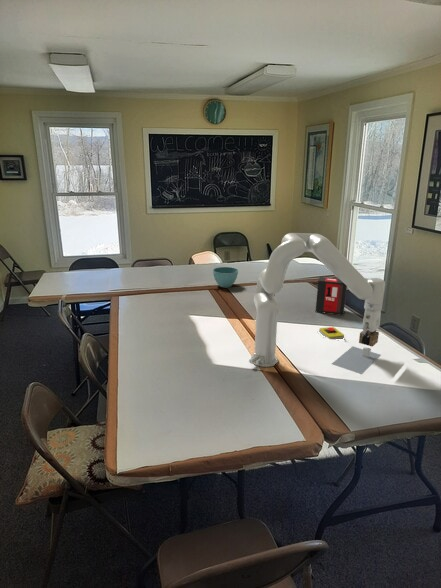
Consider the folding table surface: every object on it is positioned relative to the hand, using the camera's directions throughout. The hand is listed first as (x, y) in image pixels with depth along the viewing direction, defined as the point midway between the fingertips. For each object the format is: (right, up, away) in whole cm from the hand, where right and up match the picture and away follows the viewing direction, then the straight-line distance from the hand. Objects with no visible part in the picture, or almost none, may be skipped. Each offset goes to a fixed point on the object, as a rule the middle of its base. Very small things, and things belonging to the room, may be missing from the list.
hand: (368, 341), depth 189 cm
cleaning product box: (-1, +11, +63) cm, 64 cm away
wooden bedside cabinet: (0, 0, 0) cm, 0 cm away
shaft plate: (-6, -10, 0) cm, 11 cm away
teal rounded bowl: (-65, +28, +110) cm, 130 cm away
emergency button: (-10, -1, +27) cm, 29 cm away
